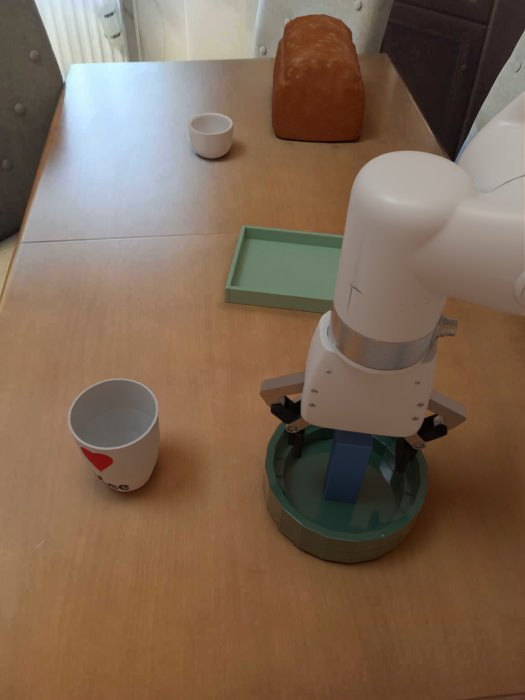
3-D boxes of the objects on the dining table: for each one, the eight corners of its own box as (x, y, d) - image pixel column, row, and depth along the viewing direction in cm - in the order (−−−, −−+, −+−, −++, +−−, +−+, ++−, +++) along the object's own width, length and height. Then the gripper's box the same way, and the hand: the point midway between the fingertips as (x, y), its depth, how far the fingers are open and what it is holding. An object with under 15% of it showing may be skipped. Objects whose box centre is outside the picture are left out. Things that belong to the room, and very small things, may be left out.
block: (356, 476, 62) (372, 419, 55) (355, 504, 60) (372, 448, 52) (325, 472, 62) (337, 414, 55) (323, 499, 60) (336, 443, 53)
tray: (370, 252, 88) (373, 238, 86) (369, 318, 79) (372, 304, 77) (241, 238, 89) (242, 224, 88) (225, 302, 80) (224, 288, 78)
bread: (353, 86, 126) (363, 9, 115) (362, 144, 110) (376, 61, 99) (272, 83, 126) (275, 6, 115) (269, 140, 110) (273, 56, 99)
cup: (73, 464, 62) (52, 406, 55) (140, 424, 66) (128, 365, 59) (114, 520, 58) (96, 465, 51) (182, 474, 62) (175, 417, 55)
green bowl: (413, 437, 66) (424, 410, 62) (420, 575, 55) (432, 552, 52) (273, 419, 67) (275, 391, 63) (253, 551, 57) (254, 527, 53)
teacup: (233, 164, 104) (233, 134, 100) (188, 163, 103) (186, 134, 99) (233, 135, 110) (233, 107, 106) (192, 135, 110) (190, 106, 106)
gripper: (495, 303, 46) (438, 432, 58) (270, 277, 47) (262, 409, 59) (509, 377, 40) (444, 501, 53) (256, 346, 42) (251, 475, 54)
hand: (348, 453), depth 56 cm, fingers open, 9 cm apart
